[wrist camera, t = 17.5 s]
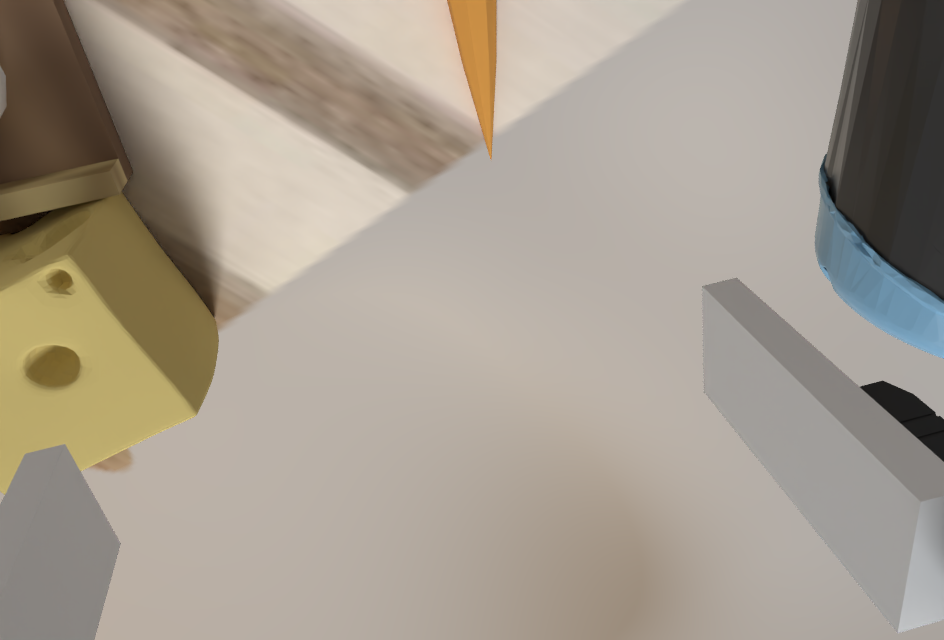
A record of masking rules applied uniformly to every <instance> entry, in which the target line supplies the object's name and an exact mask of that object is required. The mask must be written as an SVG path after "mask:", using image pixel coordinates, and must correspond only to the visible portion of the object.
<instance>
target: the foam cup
mask: <svg viewBox="0 0 944 640" xmlns="http://www.w3.org/2000/svg"><path fill="white" fill-rule="evenodd" d="M6 107H7V101H6V76H5V74H4V72H3V70H2V68H1V66H0V118H1V116H2V114H3V112H4V110H5V108H6Z"/></svg>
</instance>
